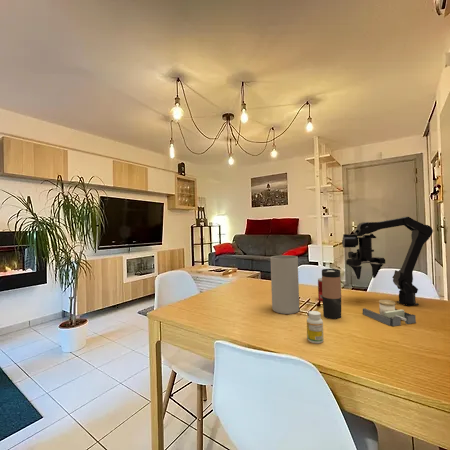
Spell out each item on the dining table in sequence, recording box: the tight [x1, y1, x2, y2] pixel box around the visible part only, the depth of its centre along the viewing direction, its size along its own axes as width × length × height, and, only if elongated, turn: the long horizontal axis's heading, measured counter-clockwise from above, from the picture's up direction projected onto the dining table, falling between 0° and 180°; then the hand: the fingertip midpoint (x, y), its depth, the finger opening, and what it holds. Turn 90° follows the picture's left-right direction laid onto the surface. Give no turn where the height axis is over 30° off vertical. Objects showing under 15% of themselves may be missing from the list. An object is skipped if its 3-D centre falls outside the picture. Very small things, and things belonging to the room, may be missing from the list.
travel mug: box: [321, 268, 342, 320], centre depth 112 cm, size 8×8×20 cm
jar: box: [378, 299, 396, 316], centre depth 108 cm, size 6×6×7 cm
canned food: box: [317, 277, 323, 303], centre depth 135 cm, size 8×8×11 cm
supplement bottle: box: [306, 310, 324, 344], centre depth 90 cm, size 5×5×10 cm
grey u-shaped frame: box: [362, 307, 417, 327], centre depth 108 cm, size 12×15×3 cm
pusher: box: [384, 309, 407, 322], centre depth 103 cm, size 9×6×4 cm, turn 104°
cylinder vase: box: [270, 255, 300, 315], centre depth 122 cm, size 12×12×25 cm
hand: (366, 278), depth 130 cm, fingers open, 9 cm apart
